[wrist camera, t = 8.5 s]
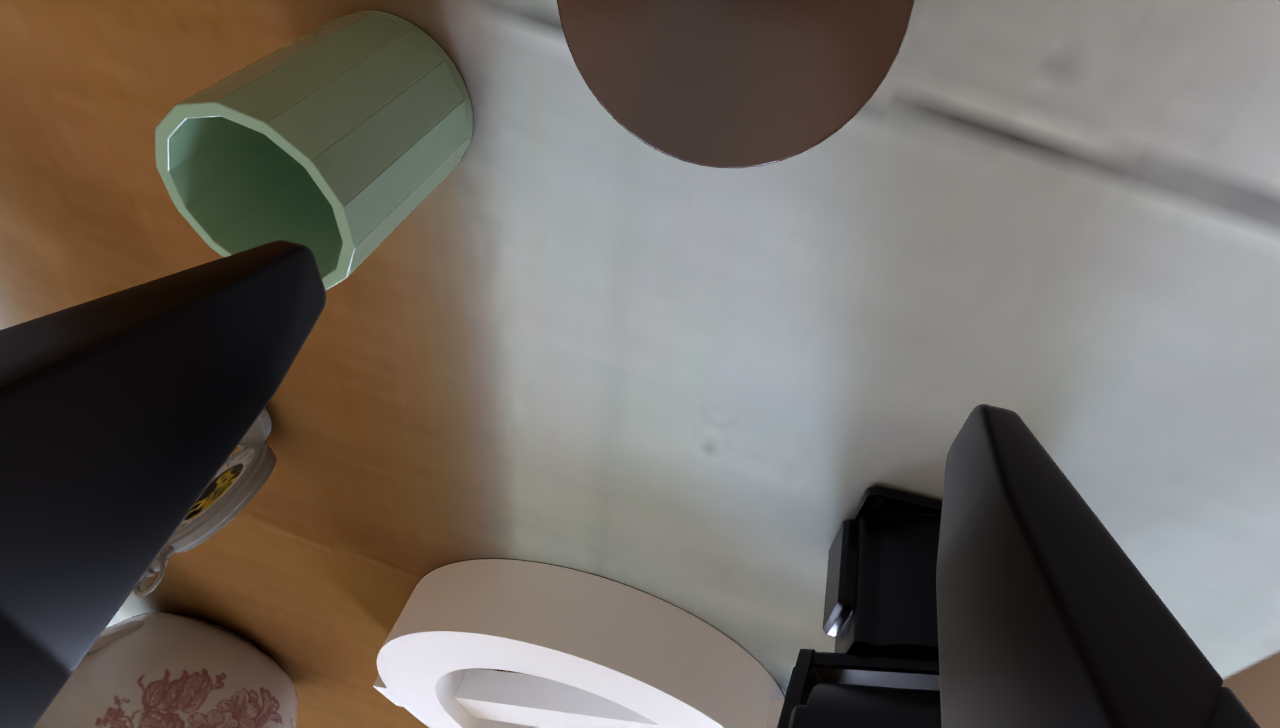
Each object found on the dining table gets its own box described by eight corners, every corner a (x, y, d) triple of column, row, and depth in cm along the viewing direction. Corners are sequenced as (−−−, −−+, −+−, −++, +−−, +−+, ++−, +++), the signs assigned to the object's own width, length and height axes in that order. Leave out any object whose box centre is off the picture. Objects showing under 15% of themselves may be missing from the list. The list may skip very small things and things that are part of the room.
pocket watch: (157, 327, 35) (-29, 481, 28) (310, 403, 36) (167, 570, 29) (171, 414, 41) (20, 559, 34) (303, 477, 42) (182, 631, 35)
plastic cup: (462, 22, 20) (319, 122, 15) (482, 188, 24) (372, 312, 19) (301, -5, 21) (115, 82, 16) (344, 160, 25) (205, 271, 20)
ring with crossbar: (391, 651, 59) (360, 707, 55) (447, 499, 39) (405, 573, 35) (682, 781, 61) (669, 843, 58) (876, 701, 41) (874, 788, 38)
